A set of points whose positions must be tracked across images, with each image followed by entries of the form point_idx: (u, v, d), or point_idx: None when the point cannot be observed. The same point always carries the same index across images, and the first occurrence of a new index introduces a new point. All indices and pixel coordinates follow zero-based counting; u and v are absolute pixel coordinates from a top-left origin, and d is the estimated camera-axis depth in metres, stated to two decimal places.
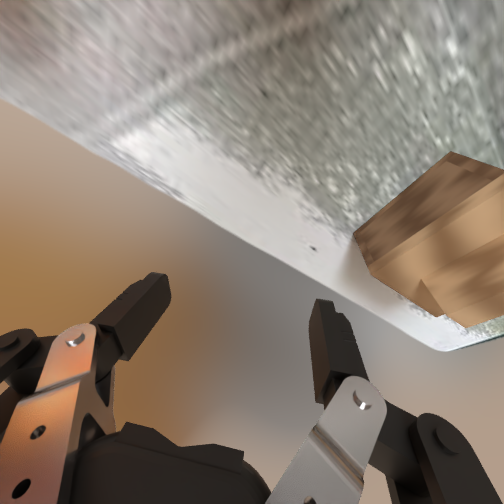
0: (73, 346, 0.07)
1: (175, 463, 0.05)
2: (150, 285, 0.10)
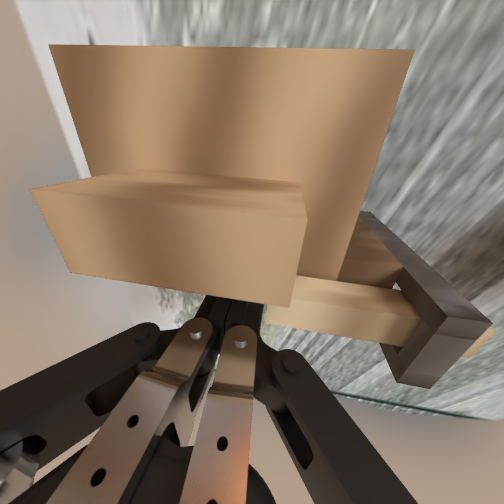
0: (200, 339, 0.07)
1: (175, 463, 0.05)
2: None
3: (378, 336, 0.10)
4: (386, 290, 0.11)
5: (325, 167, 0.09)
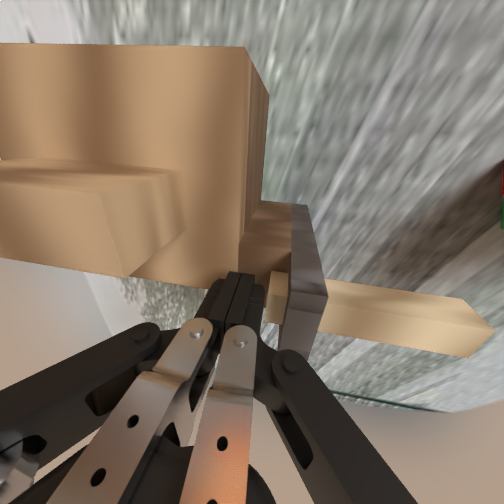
0: (200, 339, 0.07)
1: (175, 463, 0.05)
2: (235, 283, 0.10)
3: (377, 335, 0.10)
4: (385, 289, 0.11)
5: (200, 156, 0.09)
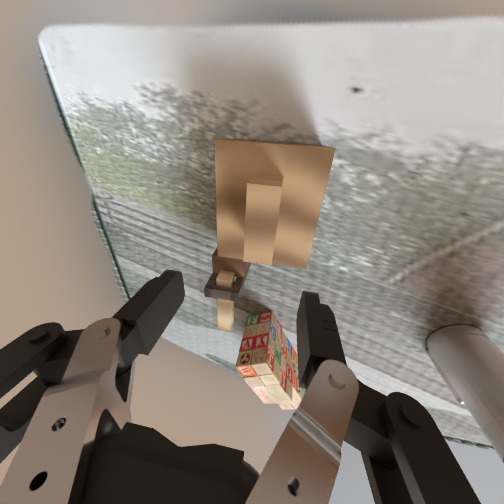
0: (100, 339, 0.07)
1: (175, 463, 0.05)
2: (167, 282, 0.10)
3: (220, 309, 0.29)
4: (233, 305, 0.31)
5: (279, 251, 0.25)
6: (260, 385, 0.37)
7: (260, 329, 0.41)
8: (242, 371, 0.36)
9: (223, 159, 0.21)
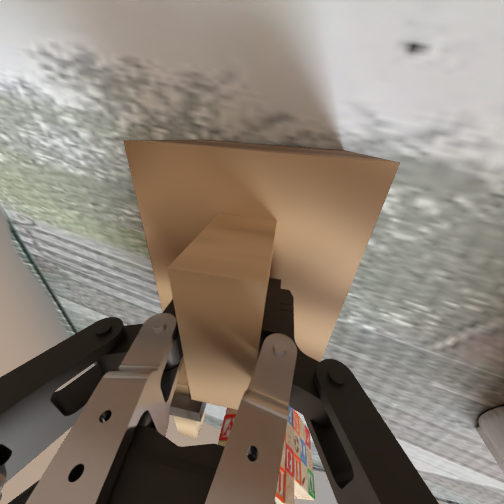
0: (161, 333, 0.07)
1: (175, 463, 0.05)
2: None
3: None
4: None
5: None
6: None
7: None
8: None
9: (150, 182, 0.10)
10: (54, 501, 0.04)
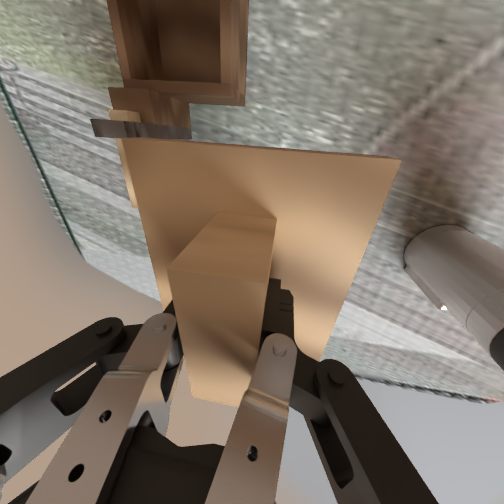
0: (161, 333, 0.07)
1: (175, 463, 0.05)
2: None
3: (126, 170, 0.23)
4: None
5: None
6: None
7: None
8: None
9: (149, 180, 0.10)
10: (54, 501, 0.04)
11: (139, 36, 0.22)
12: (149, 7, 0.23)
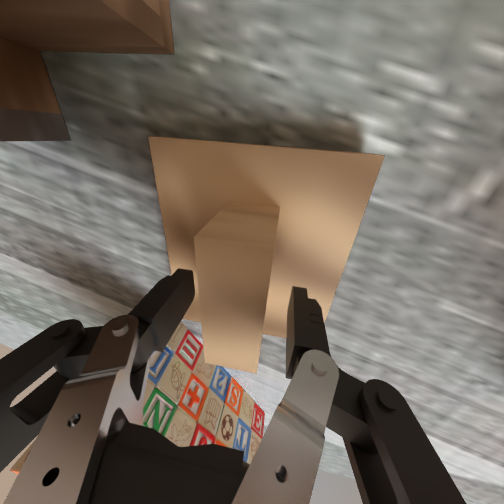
0: (120, 335, 0.07)
1: (175, 463, 0.05)
2: (180, 280, 0.10)
3: None
4: None
5: (273, 318, 0.16)
6: None
7: None
8: None
9: (170, 174, 0.11)
10: None
11: None
12: None
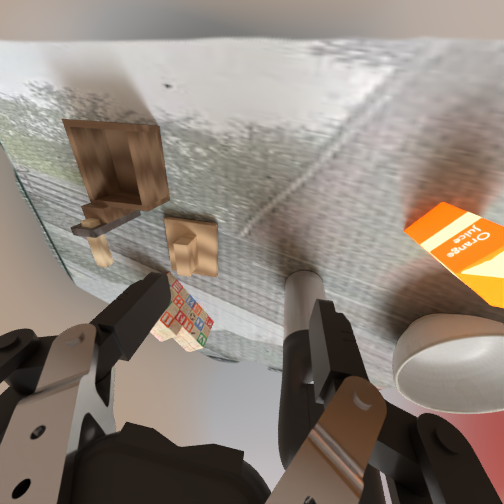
0: (73, 346, 0.07)
1: (175, 463, 0.05)
2: (150, 285, 0.10)
3: (92, 248, 0.40)
4: (107, 247, 0.41)
5: (201, 268, 0.50)
6: None
7: None
8: None
9: (169, 226, 0.46)
10: None
11: (99, 174, 0.39)
12: (106, 155, 0.40)
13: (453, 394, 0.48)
